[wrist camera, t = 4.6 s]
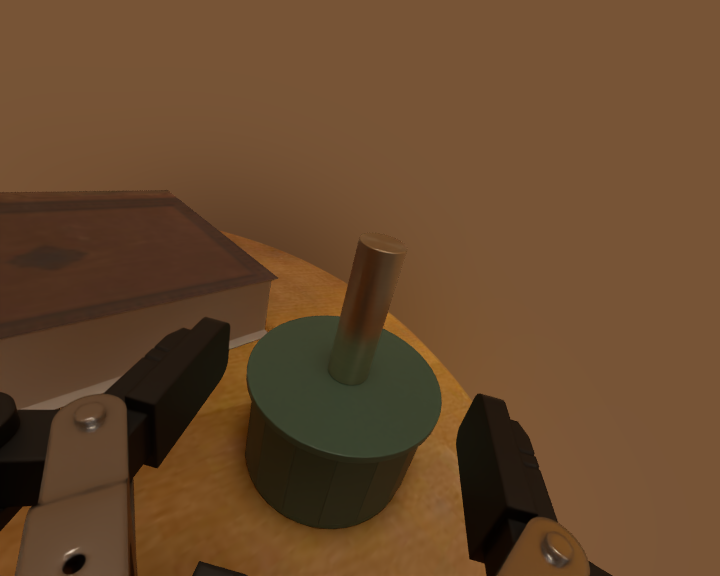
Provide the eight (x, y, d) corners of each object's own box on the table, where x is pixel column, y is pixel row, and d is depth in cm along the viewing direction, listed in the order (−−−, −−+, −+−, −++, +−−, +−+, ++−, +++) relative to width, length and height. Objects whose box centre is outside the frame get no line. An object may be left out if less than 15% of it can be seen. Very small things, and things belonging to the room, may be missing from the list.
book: (-191, 273, 30) (-234, 195, 27) (168, 237, 50) (167, 190, 47) (-250, 514, 17) (-345, 414, 14) (270, 335, 37) (278, 278, 34)
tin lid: (475, 428, 23) (550, 292, 18) (293, 511, 16) (337, 327, 12) (370, 317, 32) (403, 205, 27) (222, 341, 25) (231, 196, 20)
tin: (433, 485, 26) (468, 418, 23) (281, 565, 20) (300, 488, 17) (353, 377, 34) (370, 316, 31) (226, 410, 28) (232, 337, 24)
